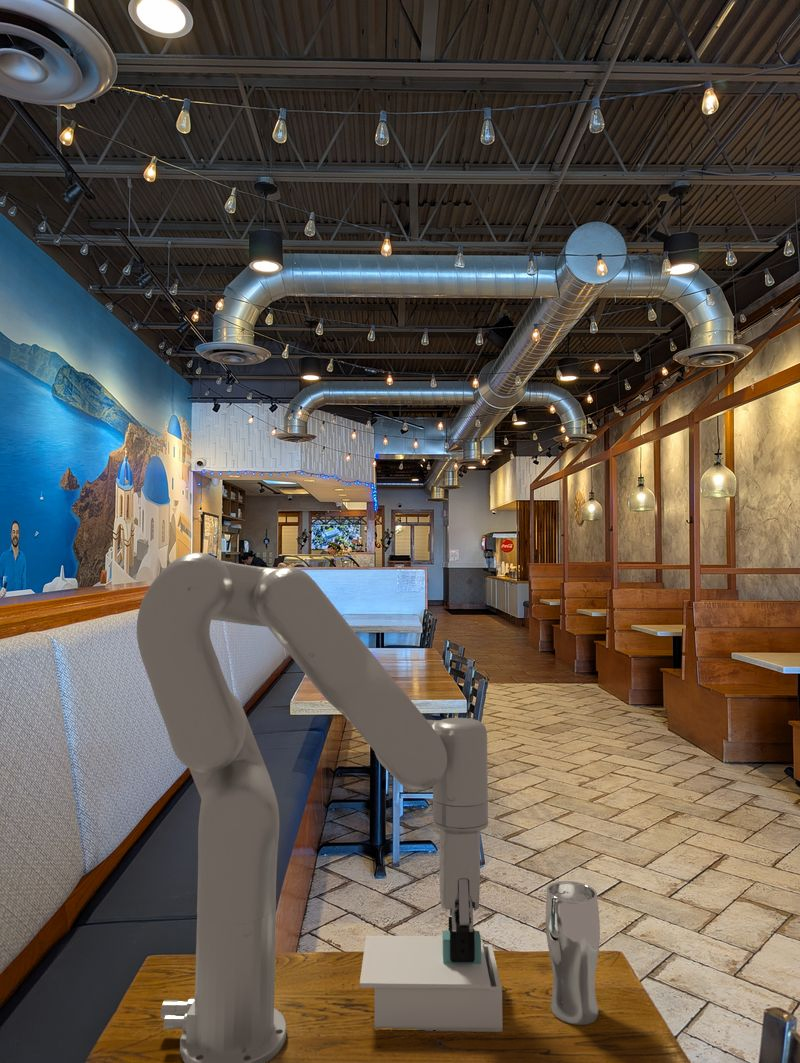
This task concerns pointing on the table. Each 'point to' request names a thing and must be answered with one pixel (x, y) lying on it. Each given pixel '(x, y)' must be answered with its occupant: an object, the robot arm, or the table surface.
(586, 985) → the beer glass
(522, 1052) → the table surface
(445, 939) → the box lid
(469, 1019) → the mailer box
